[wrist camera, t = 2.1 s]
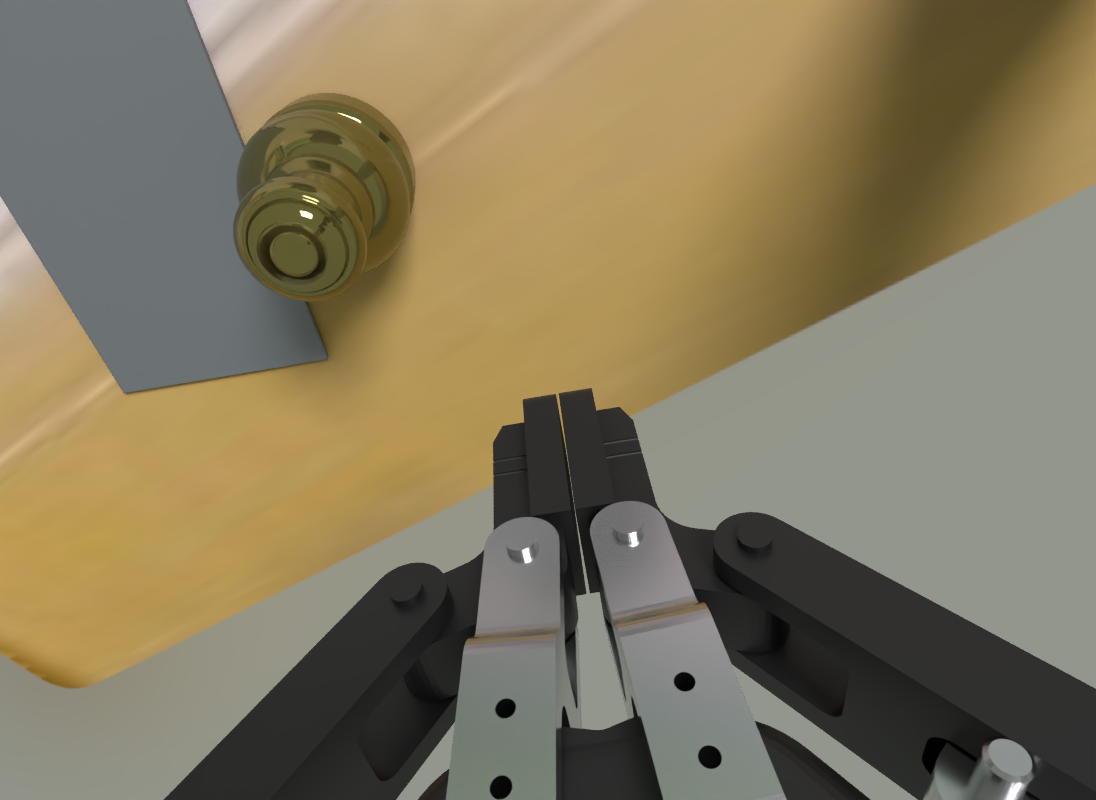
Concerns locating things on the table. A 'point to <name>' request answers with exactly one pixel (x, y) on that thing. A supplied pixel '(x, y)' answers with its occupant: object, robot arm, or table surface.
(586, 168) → the table surface
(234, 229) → the brass door knob
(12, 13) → the mat
